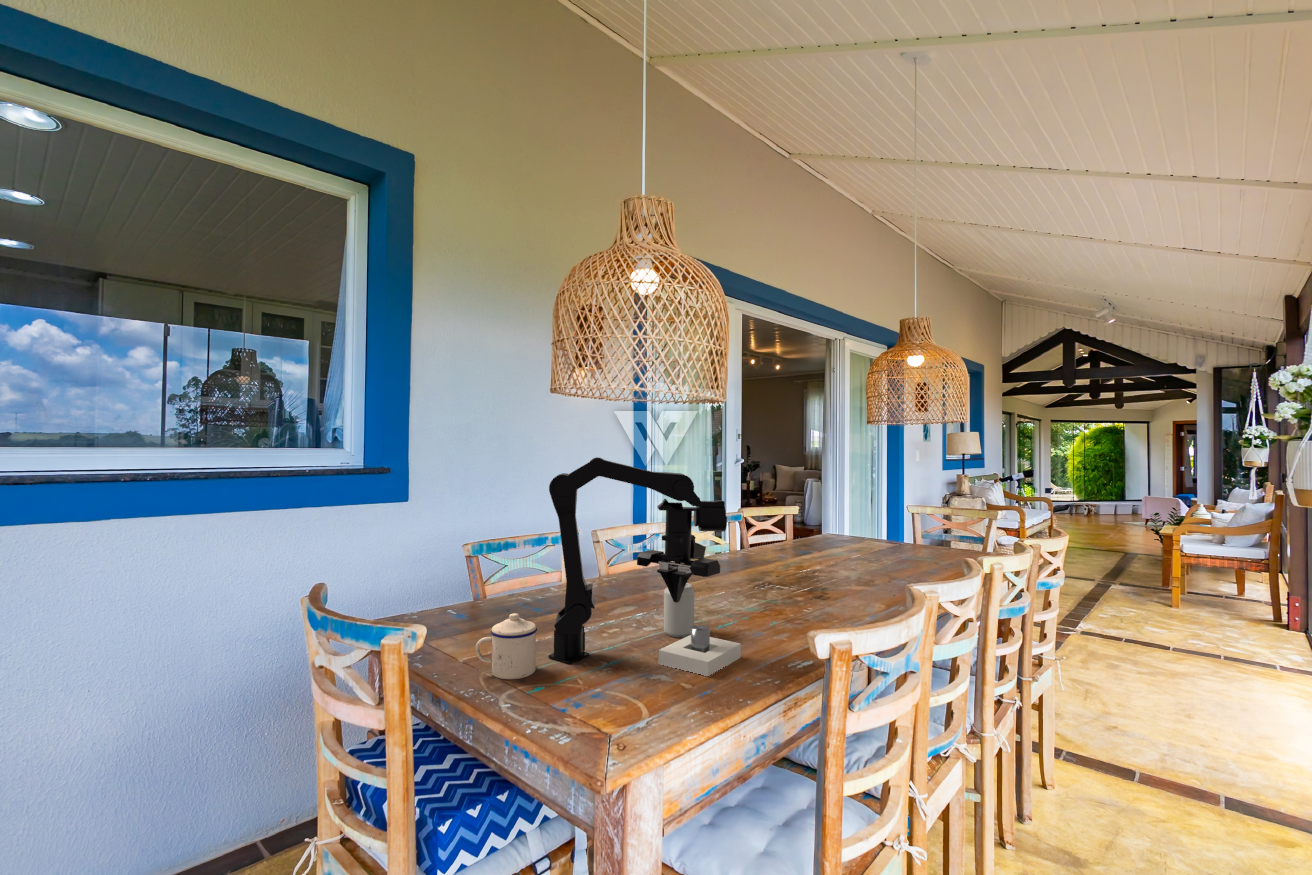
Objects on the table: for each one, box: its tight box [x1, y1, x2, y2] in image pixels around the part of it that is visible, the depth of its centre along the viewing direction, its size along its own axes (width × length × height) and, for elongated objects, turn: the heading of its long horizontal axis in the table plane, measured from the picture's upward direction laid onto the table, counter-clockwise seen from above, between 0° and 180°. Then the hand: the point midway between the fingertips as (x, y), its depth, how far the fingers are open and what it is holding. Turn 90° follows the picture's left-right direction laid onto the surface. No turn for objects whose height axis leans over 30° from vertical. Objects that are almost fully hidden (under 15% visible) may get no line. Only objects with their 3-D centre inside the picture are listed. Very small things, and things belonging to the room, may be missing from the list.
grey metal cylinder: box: [691, 624, 711, 653], centre depth 134 cm, size 4×4×7 cm
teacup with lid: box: [475, 612, 538, 680], centre depth 126 cm, size 12×9×12 cm
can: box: [663, 582, 696, 638], centre depth 152 cm, size 8×8×12 cm
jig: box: [658, 635, 742, 677], centre depth 134 cm, size 14×12×3 cm
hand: (676, 602), depth 137 cm, fingers closed
